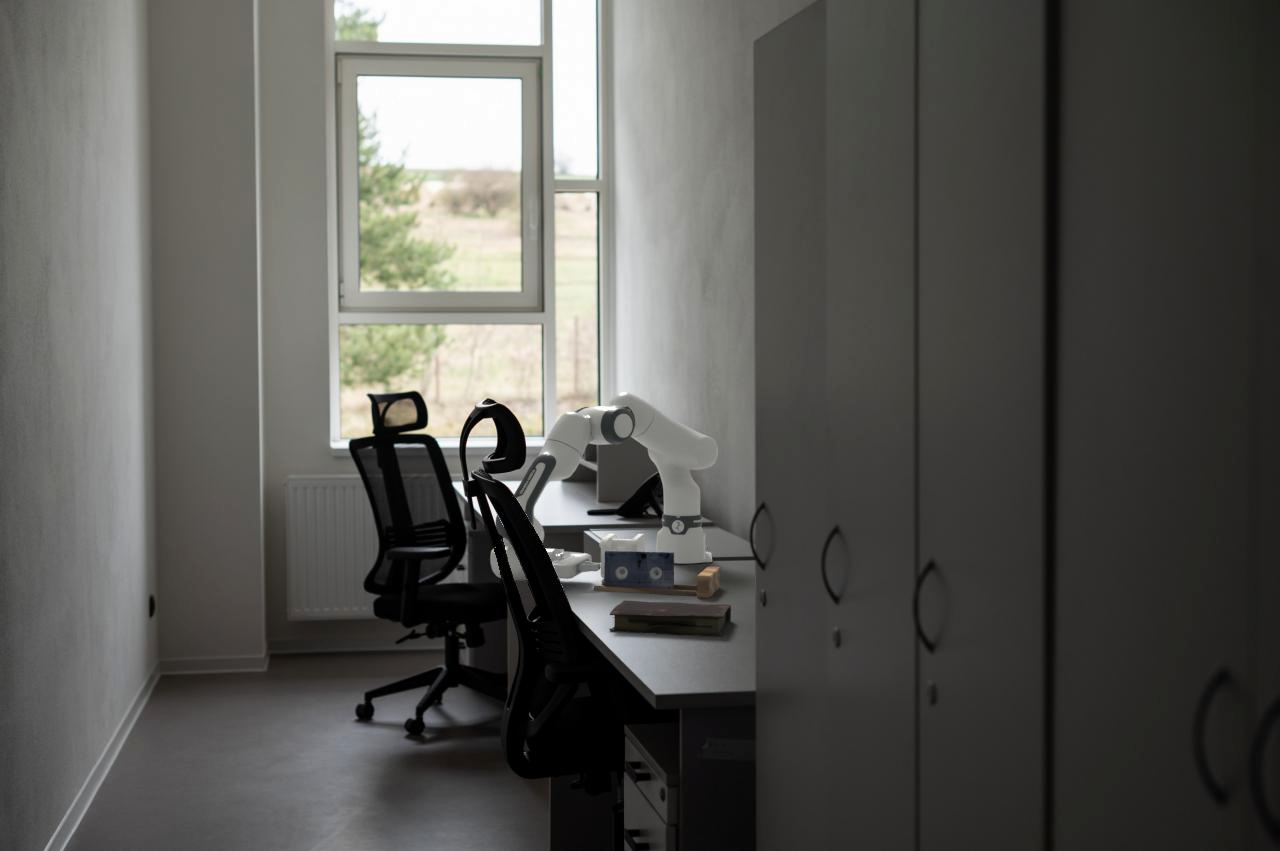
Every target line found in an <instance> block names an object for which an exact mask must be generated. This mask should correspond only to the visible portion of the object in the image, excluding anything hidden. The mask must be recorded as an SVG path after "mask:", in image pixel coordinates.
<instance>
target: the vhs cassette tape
mask: <svg viewBox="0 0 1280 851" xmlns="http://www.w3.org/2000/svg"><path fill="white" fill-rule="evenodd" d="M604 569H605V570H604V578H603V581H604V585H603V586H611V587H631V588H652V589H672V590H675V589H674V584H675V563H674V553H673V552H671V553H668V552H656V551H645V552H625V551H623V552H620V551H605V566H604Z"/></svg>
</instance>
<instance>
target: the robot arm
mask: <svg viewBox="0 0 1280 851" xmlns="http://www.w3.org/2000/svg"><path fill="white" fill-rule="evenodd" d="M630 438H631V439H634V440H635V441H637V442H638V443H640V445H642V446H643V447H645V448H646V449H647V454H648V456H649V457H648V458H649V459H650V460H651V461H652V462H653V463H654V465H655V466H656V468H657V471H658V473H659V476H660V479H661V483H662V489H663V513H662V514H661V515H662V516H661V526H662V528H661V529H660V530H659V531H657V535H656V546H655V549H656V550H655V552H668V553H671V552H673V553H674V564H683V565H684V564H685V565H686V564H699V563H712V562H713V556H712V552H711V551H710V552H709V551H708V549H709V547H708V545H706V533H705V532H704V531H703V528H702V525H703V517H702V514H701V489H700V486H699V485H698V484H697V483H696V481H695V480H694V479H693V476H692V474H691V470H696V471H698V470H704V469H709V468H711V467H712V466H713V465H715V464H716V462H717V460H718V456H719V447H718V444H717V442H716V440H715V439H714V438H713V437H711V436H708V435H706V434H703V433H701V432H699V431H697V430H695V429H693V428H691V427H689V426H687V425H685V424H683V423H681V422H679V421H677V420H674V418H673V419H672V418H671V417H669V416H667V415H666V414H665V413H663V412H662V411H660V410H659V409H657V408H656V407H655V406H653V405H652V404H650V403H649V402H648V401H646V400H644V399H642V398H640V397H638V396H636V395H635V394H632V393H629V392H625V391H624V392H620V393H617V394H616V395H614V397H612V399H611V400H610V401H609V404H608V405H597V406H590V407H589V406H585V407H580V408H578V409H576V410H575V411H568V412H564V413H563V414H561V416H560V417H559V418H558V420H557V421H556V423H555V424H554V425H553V427H552V429H551V430H550V432H549V434H548V435H547V438H546V440H545V442H544V444H543V446H542V447H541V450H540V451H539V454H538V456H537V457H536V458H535V459H534V460H533V462H532V463H531V464H530V466H529V468H528V470H527V471H526V473H525V474H524V477H523V478H522V480H521V481H520V483H519V485H518V487H517V489H516V490H515V492H514V494H513V495H514V496H515V497H516V498H517V499H518V501H519V502H520V504H521V506H522V508H523V509H524V511H525V513H526V514H527V516H528V518H529V520H530V522H531V523H532V525H533V527H534V529H535V531H536V533H537V534H538V536H539V538H540V540H541V541H542V543H544V539H545V530H544V527H543V526H542V524H541V523H540V522H539V520H538V518H536V516H535V513H534V511H535V507H536V505H537V503H538V501H539V499H540V497H541V495H542V493H543V492H544V490H545V488H546V487H547V485H548V484H549V483H550V482H551V481H554V480H557V481H563V480H566V479H569V478H570V477H572V475H573V474H574V472H575V471H576V470H577V468H578V466H579V464H580V463H581V460H582V458H583V455H584V453H585V451H586V448H587V446H588V445H589V444H591V445H596V446H601V445H620V444H624V443H625V442H627V441H628V440H630ZM495 527H496V531H497V530H498V531H497V532H498V534H499V535H500V536H502V537H503V538H502V539H503V542H504V545H505V550H506V554H507V557H508V562H509V565H510V568H511V571H512V574H513V578H514V581H525V580H527V579H526V577H525V574H524V572H523V570H522V567H521V565H520V562H519V560H518V558H517V556H516V554H515V551H514V549H513V547H512V545H511V544H510V542H509V540H508V538H507V535H506V532H505V529H504V527H503V525H502V523H501V521H500V519H499V517H498V515H496V517H495ZM544 548H545V547H544ZM545 549H546V551H547V553H548V555H549V557H550V559H551V561H552V564H553V565H554V567H555V570H556V572H557V574H558V577H559V578H558V579H564V580H567V579H568V580H569V579H573V578H575V577H577V576H578V575H580V574H582V573H588V572H598V571H601V562H594V561H592V555H591V554H589V553H585V552H584V553H583V552H576V551H565V550H564V548H560V549H559V548H549V547H548V548H545ZM489 563H490V568H491V571H492V572H493V574H494V575H495V576H496V577H498V578H500V579H502V578H501V575H500V570H499V566H498V562H497V558H496V555H495V552H494V548H493V549H491V551H490V555H489Z"/></svg>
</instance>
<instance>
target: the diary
mask: <svg viewBox="0 0 1280 851" xmlns="http://www.w3.org/2000/svg"><path fill="white" fill-rule="evenodd" d="M731 615H732V607H731V604H712V603H711V604H701V603H688V602H676V601H675V602H668V601H667V602H661V601H660V602H657V601H655V602H653V601H651V602H650V601H639V600H629V599H627V600H623V601H622V602H620V603H619V604H616V606H614V608H613V609H612V610H611V611H610V613H609V616H614V617H612V618H614V626H612V628H609V631H610V632H613V633H624V632H625V633H626V634H627V633H628V634H646V633H656V634H655V635H669V634H670V635H671V636H684V635H685V636H697V635H699V636H700V637H715V638H717V637H718V638H723V637H724V635H725V632H726V631H727V629H726V628H724V626H725V624H727V623H730V622H731V618H732V617H731ZM726 622H727V623H726Z"/></svg>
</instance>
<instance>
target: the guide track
mask: <svg viewBox="0 0 1280 851" xmlns="http://www.w3.org/2000/svg"><path fill="white" fill-rule="evenodd" d="M720 570H721V566H710V565H709V566H707V567H706V568H704V569H703V570H702V571H701V572H700V573H698V574H697V575H696V579H697V580H696V582H697V583H696V584H684V583H683V584H681V583H680V584H678V583H674V590H672V589H652V588H631V587H611V586H604V580H602V581H601V585H593V591H595V592H597V591H598V592H599V591H600V592H616V593H617V592H618V593H620V592H621V593H639V594H655V595H656V594H658V595H659V594H660V595H677V596H680V595H681V596H696V598H697V599H710V598H711V597H712V596H713V595H714V594H715V593H716V592H717V591H718V590H719V589H720Z"/></svg>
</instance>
